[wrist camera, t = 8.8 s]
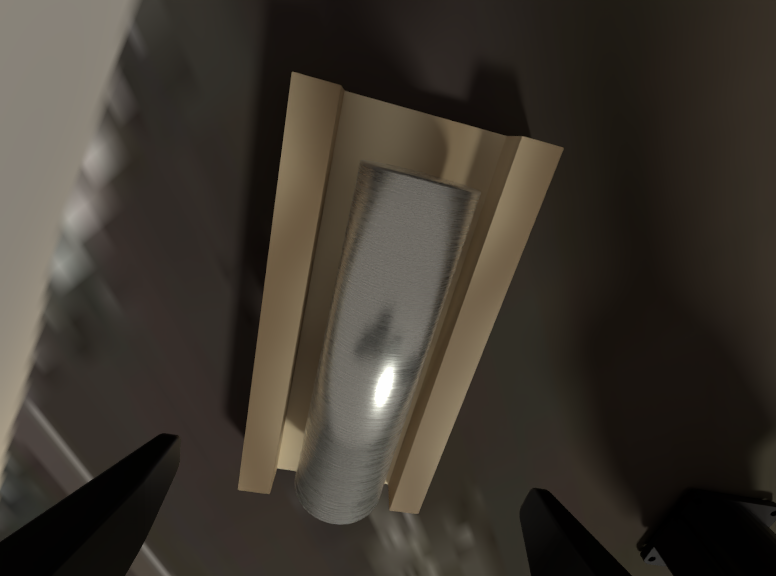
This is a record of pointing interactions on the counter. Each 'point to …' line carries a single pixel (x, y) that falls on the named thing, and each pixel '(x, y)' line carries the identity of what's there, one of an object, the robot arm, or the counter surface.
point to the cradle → (322, 256)
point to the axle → (378, 332)
